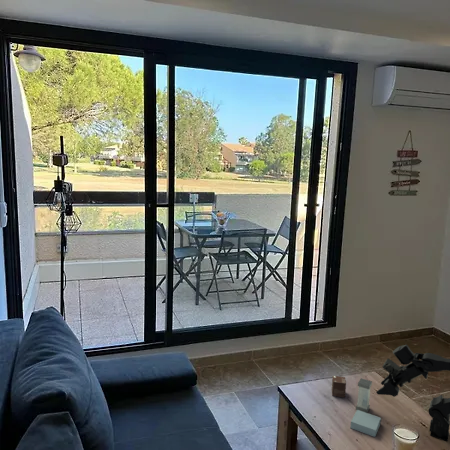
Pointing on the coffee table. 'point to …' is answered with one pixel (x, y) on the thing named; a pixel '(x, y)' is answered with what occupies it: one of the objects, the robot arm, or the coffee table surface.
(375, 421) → the stand
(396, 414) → the coffee table surface
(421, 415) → the coffee table surface
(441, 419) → the robot arm
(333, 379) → the box
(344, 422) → the coffee table surface
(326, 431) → the coffee table surface
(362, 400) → the housing
